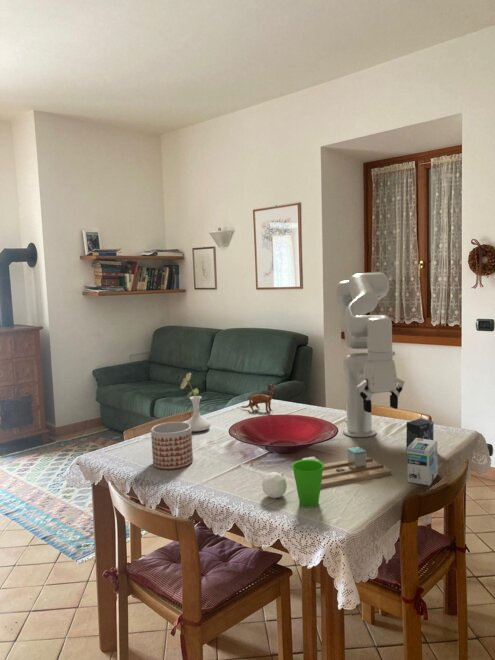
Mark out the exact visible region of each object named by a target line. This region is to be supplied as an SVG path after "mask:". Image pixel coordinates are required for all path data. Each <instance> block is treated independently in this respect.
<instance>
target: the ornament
mask: <svg viewBox="0 0 495 660" xmlns="http://www.w3.org/2000/svg"><path fill="white" fill-rule="evenodd" d="M261 484H262V485H261V487H262V492H263V493H264V495H266V496H267V497H269V498H272V499H278V498H281V497H282V496H283V495H284V494H286V491H287V488H288V483H287V480H286V478H285V477H284V472H282V471H280V472H276V471H273V472H269V473H267V474H266V475H265V476H264V477H263V479H262V482H261Z"/></svg>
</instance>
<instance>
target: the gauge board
mask: <svg viewBox="0 0 495 660" xmlns="http://www.w3.org/2000/svg"><path fill="white" fill-rule="evenodd" d="M306 459H311V460H317V461H320V460H319V459H318V458H316V457H315V456H309V457H304V458H301V460H306ZM323 464H324V468H323V472H322V480H321V488H329V487H333V486H338V485H344V484H348V483H349V484H350V483H355V482H360V481H365V480H370V479H376V478H380V477H386V476H392V469H389V468H387V467H385V465H384V464H382V463H379V462H377V461H375V460H374V458H373V457H369V456H366V467H363V468H358V469H353V468H351V467H350V466H348V459H346V460H342V461H341V460H340V461H335V462H328V463H323ZM321 488H320V489H321Z"/></svg>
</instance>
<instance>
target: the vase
mask: <svg viewBox="0 0 495 660" xmlns="http://www.w3.org/2000/svg"><path fill="white" fill-rule="evenodd" d="M150 435H151V437H150V438H151V449H152V450H151V451H152V464H153V465H152V466H153V467H154V468H157V469H159V470H163V471H164V470H165V471H167V470H169V471H170V470H171V471H172V470H180V469H183V468H186V467H188V466H190V465H191V464H192V463H193V461H194V456H193V454H194V452H193V437H192V431H191V425H190V424H188V423H186V421H185V422H184V421H169V422H168V421H167V422H163V423H159V424H156V425H154V426H152V428H151V429H150Z"/></svg>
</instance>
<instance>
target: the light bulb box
mask: <svg viewBox="0 0 495 660" xmlns="http://www.w3.org/2000/svg"><path fill="white" fill-rule="evenodd" d="M406 453H407V454H406V456H407V457H406V459H407V482H408V483H413V484H417V485H418V484H419V485H425V486H431V484H432V483H433V481H435V478H437V475H438V440H435V439H433V440H428V439H421V438H416V439H415V440H414V441H413V442H412V443H411V444H410V445H409V446H408V447H407V451H406Z"/></svg>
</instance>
